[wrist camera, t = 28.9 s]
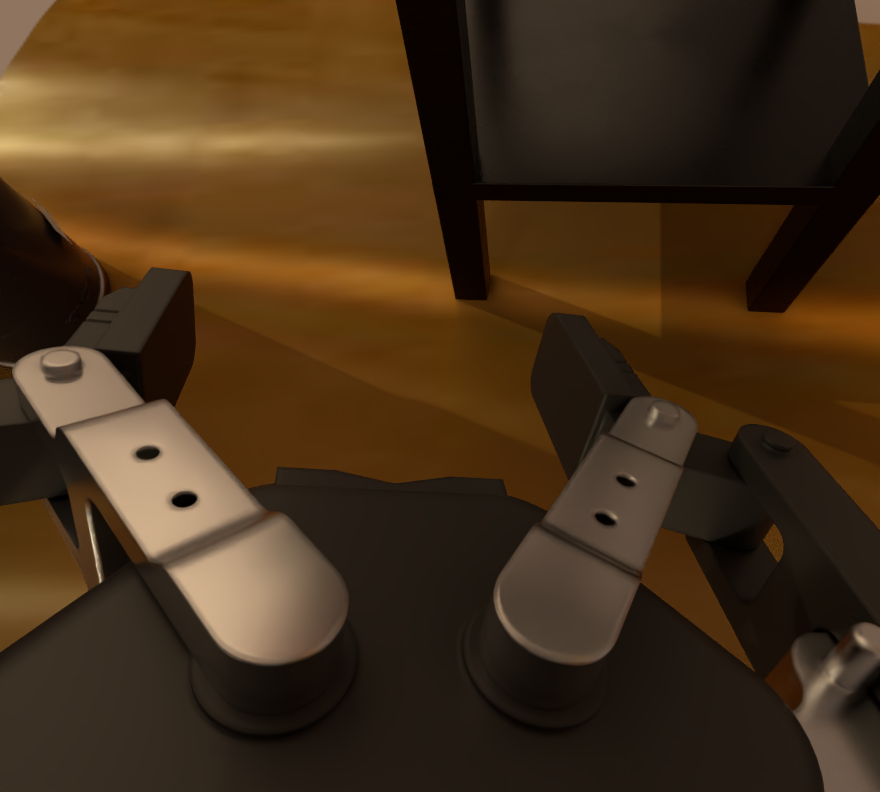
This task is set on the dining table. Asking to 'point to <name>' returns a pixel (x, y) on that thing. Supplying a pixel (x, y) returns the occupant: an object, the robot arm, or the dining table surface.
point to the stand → (648, 116)
